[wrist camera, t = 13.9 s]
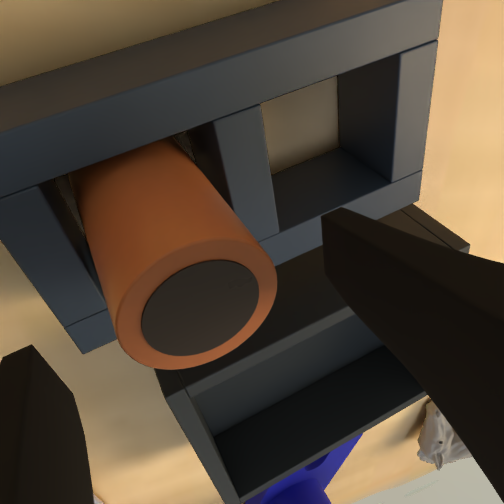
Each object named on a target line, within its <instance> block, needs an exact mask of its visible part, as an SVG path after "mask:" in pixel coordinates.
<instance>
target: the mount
mask: <svg viewBox="0 0 504 504" xmlns="http://www.w3.org/2000/svg"><path fill="white" fill-rule="evenodd" d="M362 434H363V433H362ZM362 434H360V435H358V436H356V437H355V438H353V439H351V440H350V441H348V442H346V443H345V444H343V445H341V446H339V447H338V448H336V449H334V450H333V451H331V452H329V453H327V454H326V455H324V456H322V457H321V458H319V459H317V460H315V461H314V462H312V463H310V464H309V465H307V466H305V467H303V468H302V469H300V470H298V471H297V472H295V473H293V474H291V475H290V476H288V477H286V478H285V479H283V480H281V481H279V482H278V483H276V484H274V485H273V486H271V487H269V488H267V489H266V490H264V491H262V492H261V493H259V494H257V495H255V496H254V497H252V498H250V499H249V500H247V501H246V502H245V504H331V502H330V500H329V499H328V497H327V495H326V493H325V492H324V490H325V488H326V487H327V485H328V484H329V482H330V481H331V479H332V478H333V476H334V475H335V474H336V472H337V471H338V469H339V468H340V466H341V465H342V463H343V462H344V460H345V459H346V458H347V456H348V455H349V453H350V452H351V450H352V449H353V447H354V446H355V445H356V443H357V442H358V440H359V439H360V437H361V436H362Z"/></svg>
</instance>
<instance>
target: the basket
mask: <svg viewBox="0 0 504 504" xmlns="http://www.w3.org/2000/svg"><path fill="white" fill-rule="evenodd" d="M376 221H379V222H381V223H384V224H386V225H389V226H391V227H394V228H396V229H399V230H402V231H404V232H407V233H409V234H412V235H415V236H417V237H420V238H423V239H425V240H428V241H431V242H434V243H437V244H440V245H442V246H445V247H449V248H452V249H455V250H458V251H461V252H464V253H467V254H468V253H469V249H470V244H469V243H467V242H466V241H465V240H463V239H462V238H460V237H459V236H458V235H456V234H455V233H453V232H452V231H451V230H449V229H448V228H446V227H445V226H443V225H442V224H441V223H439V222H438V221H436V220H435V219H434V218H432V217H431V216H429V215H428V214H427V213H425V212H424V211H422V210H421V209H420V208H418V207H417V206H415V205H414V204H410V205H408V206H406V207H403V208H401V209H399V210H397V211H395V212H393V213H390V214H388V215H386V216H384V217H382V218H379V219H377V220H376ZM275 269H276V273H277V292H276V296H275V300H274V302H273V305H272V307H271V309H270V311H269V313H268V315H267V316H266V318H265V320H264V321H263V322H262V324H261V325H260V326H259V327H258V329H257V330H256V331H255V332H254V333H253V334H252V335H251V336H250V337H249V338H248V339H246V340H245V341H244V342H243V343H242V344H240V345H239V346H238V347H236V348H235V349H233V350H232V351H230V352H229V353H227V354H225V355H223V356H221V357H219V358H217V359H215V360H213V361H210V362H208V363H205V364H202V365H198V366H195V367H190V368H185V369H175V370H167V369H157V368H154V370H155V373H156V376H157V379H158V381H159V384H160V387H161V390H162V392H163V395H164V398H165V400H166V402H167V403H168V405H169V407H170V409H171V410H172V412H173V414H174V416H175V417H176V419H177V421H178V423H179V424H180V426H181V428H182V430H183V431H184V433H185V435H186V437H187V438H188V440H189V442H190V444H191V445H192V447H193V449H194V451H195V452H196V454H197V456H198V458H199V459H200V461H201V463H202V465H203V466H204V468H205V470H206V472H207V473H208V475H209V477H210V479H211V480H212V482H213V484H214V486H215V487H216V489H217V491H218V493H219V494H220V496H221V498H222V500H223V501H224V503H225V504H241V503H243V502H245V501H247V500H249V499H250V498H252V497H254V496H255V495H257V494H259V493H261V492H262V491H264V490H266V489H267V488H269V487H271V486H273V485H274V484H276V483H278V482H279V481H281V480H283V479H285V478H286V477H288V476H290V475H291V474H293V473H295V472H297V471H298V470H300V469H302V468H303V467H305V466H307V465H309V464H310V463H312V462H314V461H315V460H317V459H319V458H321V457H322V456H324V455H326V454H327V453H329V452H331V451H333V450H334V449H336V448H338V447H339V446H341V445H343V444H345V443H346V442H348V441H350V440H351V439H353V438H355V437H356V436H358V435H360V434H362V433H363V432H365V431H367V430H368V429H370V428H372V427H374V426H375V425H377V424H379V423H380V422H382V421H384V420H386V419H387V418H389V417H391V416H392V415H394V414H396V413H398V412H399V411H401V410H403V409H404V408H406V407H408V406H410V405H411V404H413V403H415V402H416V401H418V400H420V399H422V398H423V397H425V396H426V395H427V393H426V392H425V391H424V389H423V388H422V387H421V385H420V384H419V383H418V381H417V380H416V379H415V378H414V377H413V375H412V374H411V373H410V372H409V371H408V370H407V368H406V367H405V366H404V365H403V364H402V363H401V362H400V361H399V360H398V359H397V357H396V356H395V355H394V354H393V353H392V352H391V351H390V350H389V349H388V348H387V347H386V346H385V345H384V344H383V343H382V342H381V340H380V339H379V338H378V337H377V336H376V335H375V334H374V333H373V332H372V331H371V330H370V329H369V328H368V327H367V326H366V325H365V323H364V322H363V321H362V320H361V319H360V318H359V317H358V316H357V315H356V314H355V313H354V312H353V311H352V309H351V308H350V307H349V306H348V305H347V304H346V303H345V301H344V300H343V299H342V297H341V296H340V295H339V293H338V292H337V290H336V289H335V288H334V286H333V285H332V283H331V282H330V280H329V279H328V278H327V276H326V275H325V273H324V258H323V245H321V246H319V247H316V248H314V249H312V250H310V251H308V252H305V253H303V254H301V255H299V256H297V257H295V258H292V259H290V260H288V261H286V262H284V263H282V264H279V265H277V266H275Z"/></svg>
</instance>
